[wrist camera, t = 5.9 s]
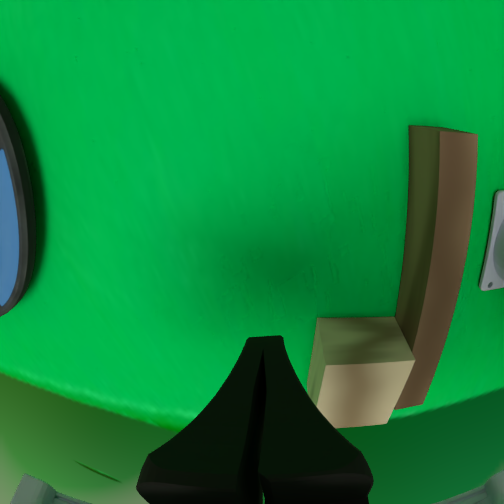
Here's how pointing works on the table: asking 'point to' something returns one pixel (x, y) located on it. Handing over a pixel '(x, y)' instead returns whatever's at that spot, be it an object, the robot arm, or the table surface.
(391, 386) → the beech block
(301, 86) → the table surface
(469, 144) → the walnut board
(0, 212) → the electronic game
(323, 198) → the table surface
